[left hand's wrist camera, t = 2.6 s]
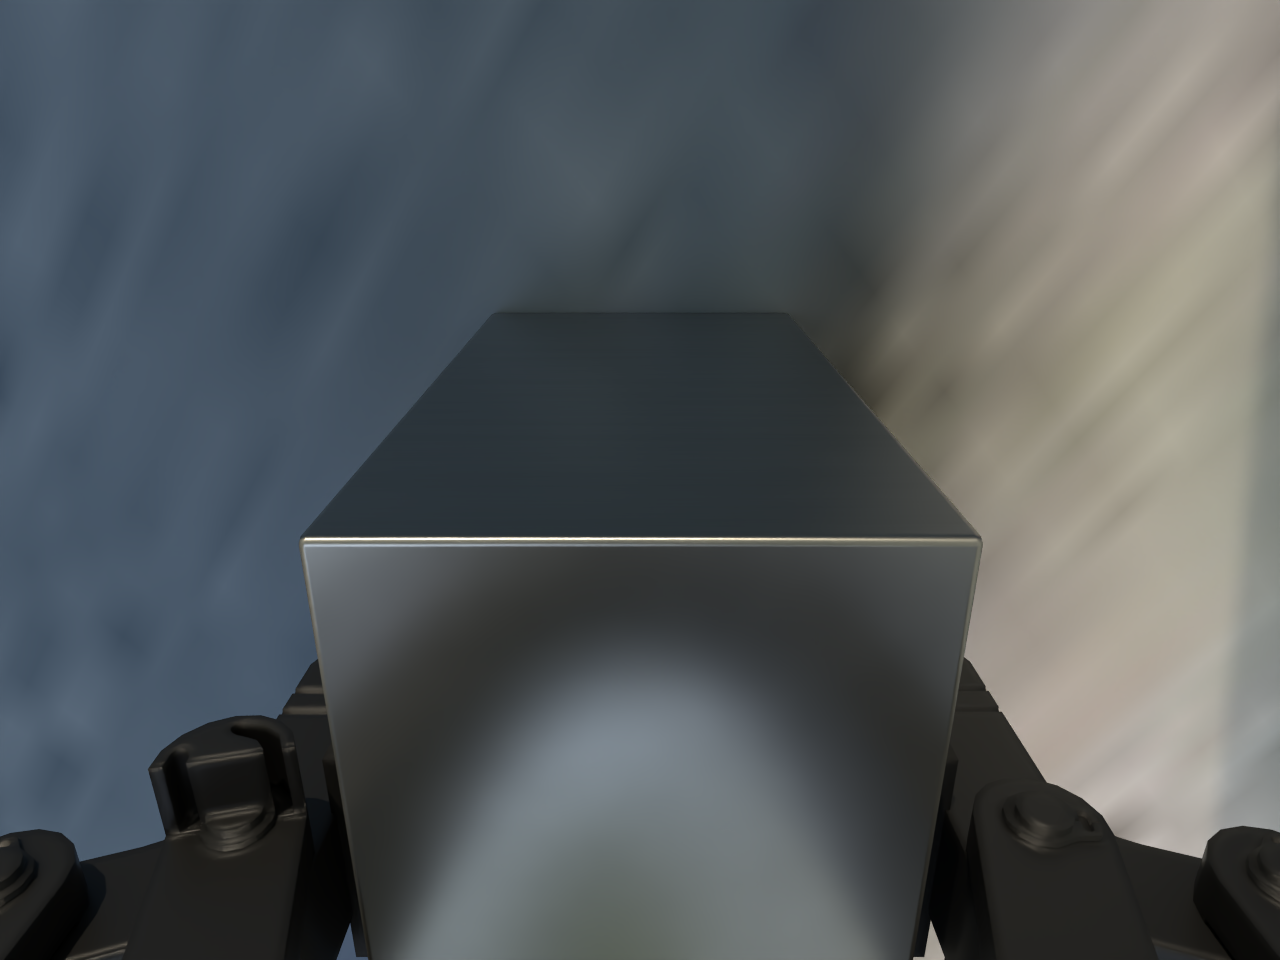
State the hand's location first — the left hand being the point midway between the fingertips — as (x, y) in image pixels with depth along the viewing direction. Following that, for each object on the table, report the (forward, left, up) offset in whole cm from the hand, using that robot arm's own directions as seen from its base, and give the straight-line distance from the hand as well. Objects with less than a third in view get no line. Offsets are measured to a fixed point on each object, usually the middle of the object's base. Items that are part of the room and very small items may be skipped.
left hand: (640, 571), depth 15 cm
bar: (+7, +4, -1) cm, 8 cm away
